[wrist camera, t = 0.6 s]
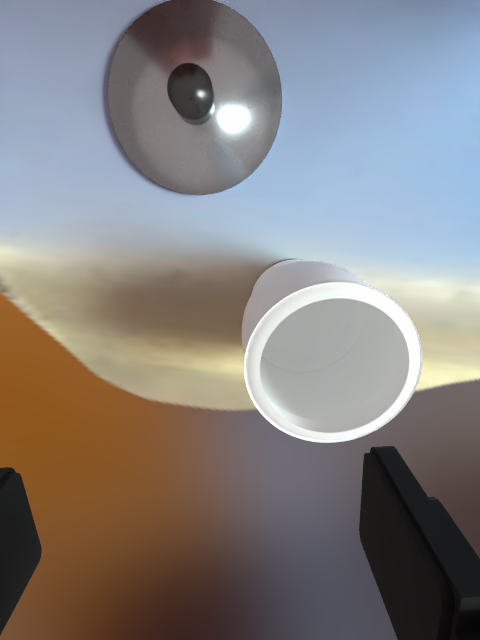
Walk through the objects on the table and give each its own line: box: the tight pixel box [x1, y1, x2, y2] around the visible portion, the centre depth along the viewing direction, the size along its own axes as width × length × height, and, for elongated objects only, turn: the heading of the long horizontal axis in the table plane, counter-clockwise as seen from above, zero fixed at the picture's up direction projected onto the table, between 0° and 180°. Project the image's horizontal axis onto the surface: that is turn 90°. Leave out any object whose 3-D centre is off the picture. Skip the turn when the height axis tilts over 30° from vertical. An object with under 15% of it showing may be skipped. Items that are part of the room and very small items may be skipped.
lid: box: [108, 0, 282, 195], centre depth 28 cm, size 14×14×5 cm
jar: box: [242, 259, 422, 443], centre depth 29 cm, size 11×10×15 cm
